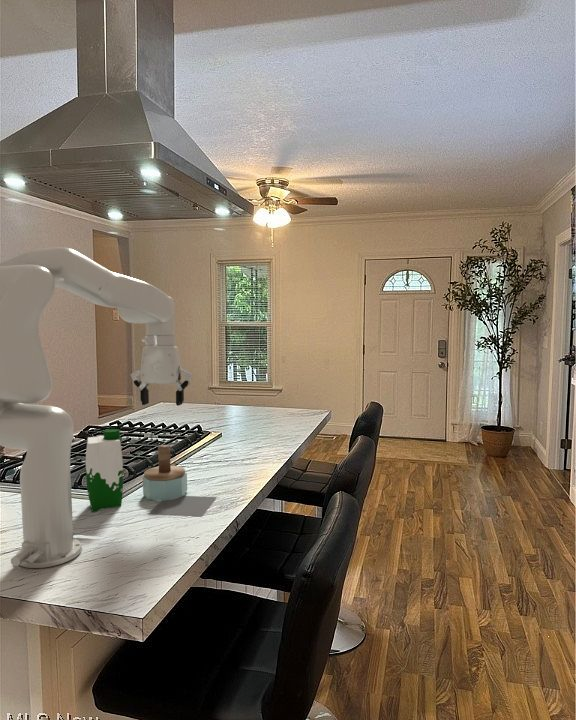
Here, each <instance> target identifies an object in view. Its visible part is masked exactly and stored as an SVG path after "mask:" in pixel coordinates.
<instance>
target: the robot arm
mask: <svg viewBox="0 0 576 720" xmlns="http://www.w3.org/2000/svg"><path fill="white" fill-rule="evenodd" d="M55 288H58V289H63V290H65V291H67V292H70V293H72V294H74V295H75V296H78V297H79V298H81V299H84V300H85V301H87V302H90V303H91V304H94V305H97V306H100V307H106V308H114V309H117V314H118V316H119V317H120V318H121V319H122V320H123V321H125V322H126V323H130V324H145V329H146V330H145V332H146V333H145V336H144V337H142V338H141V342H142V343H145V345H146V346H144V347H143V348H142V354H141V363H140V369H137V370H135V371H134V372H132V373H131V374H130V377H131V379H132V381H133V384H134V385H135V386H136V387H137V389H138V390H139V392H140V398H139V399H140V402H141V405H142V406H146V405H147V404H149V403H150V399H149V397H150V396H149V389H148V387H149V385H174V387H175V388H176V389H177V390H176V391H175V404H176V406H178V407H179V406H181V405H182V404H183V402H184V400H185V395H184V394H185V393H184V391H185V389H186V388H187V387H188V386H189V385H190V383H191V381H192V379H193V377H194V375H193V373H192V372H189V371H188V370H186V369H184V368H182V364H181V358H180V357H181V356H180V352H179V347H178V346H176V334H175V333H176V331H175V323H176V322H175V301H174V298H173V297H171V296H169V295H168V294H167V293H165V292H164V291H163V290H161V289H160V288H158V287H156V286H154V285H153V284H151V283H148V282H145V281H143V280H140V279H137V278H133V277H130V276H127V275H124V274H121V273H117V272H113V271H111V270H109V269H108V268H106V267H104V266H103V265H101V264H99V263H97V262H96V261H94V260H92V259H91V258H89V257H87V256H86V255H84V254H82V253H80V252H79V251H77V250H75V249H73V248H69V247H67V246H66V247H64V246H56V247H46V248H45V247H43V248H36V249H32V250H28V251H25V252H23V253H20V254H16V255H15V256H13V257H10V258H7V259H5V260H1V261H0V447H4V448H6V449H7V448H8V449H13V450H21V451H26V455H25V457H24V460H23V463H22V465H21V468H20V473H19V484H20V485H19V486H20V499H21V500H20V502H21V519H22V537H23V541H22V542H21V548H20V549H19V550H18V551H17V552H16V555H14V556H12V558H11V559H10V563H11V566H13V567H17V566H21V567H23V568H29V569H44V568H52V567H55V566H59V565H62V564H65V563H67V562H70V561H72V560H73V559H75V558H77V556H79V555H80V553H81V552H82V550H83V547H82V546H83V545H82V542H81V541H80V540H78V539H76V538H74V525H73V524H74V523H73V522H74V520H73V503H72V501H73V500H72V499H73V498H72V481H71V453H72V452H71V451H72V443H73V438H74V427H75V426H74V421H73V419H72V417H71V415H70V414H69V413H68V412H67V411H65V410H64V409H63V408H60V407H57V406H53V405H45V404H44V405H43V404H37V403H41V402H43V401H45V400H46V399H47V398H49V396H50V395H51V393H52V391H53V379H52V374H51V371H50V368H49V365H48V360H47V357H46V354H45V351H44V348H43V344H42V341H41V335H40V328H39V327H40V322H41V318H42V316H43V313H44V311H45V309H46V307H47V306H48V304H49V303H50V301H51V299H52V298H53V295H54V292H55V290H56V289H55ZM139 376H140V379H139ZM182 376H184V377H185V379H184V381H183V382H182V381H181V380H182Z"/></svg>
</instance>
